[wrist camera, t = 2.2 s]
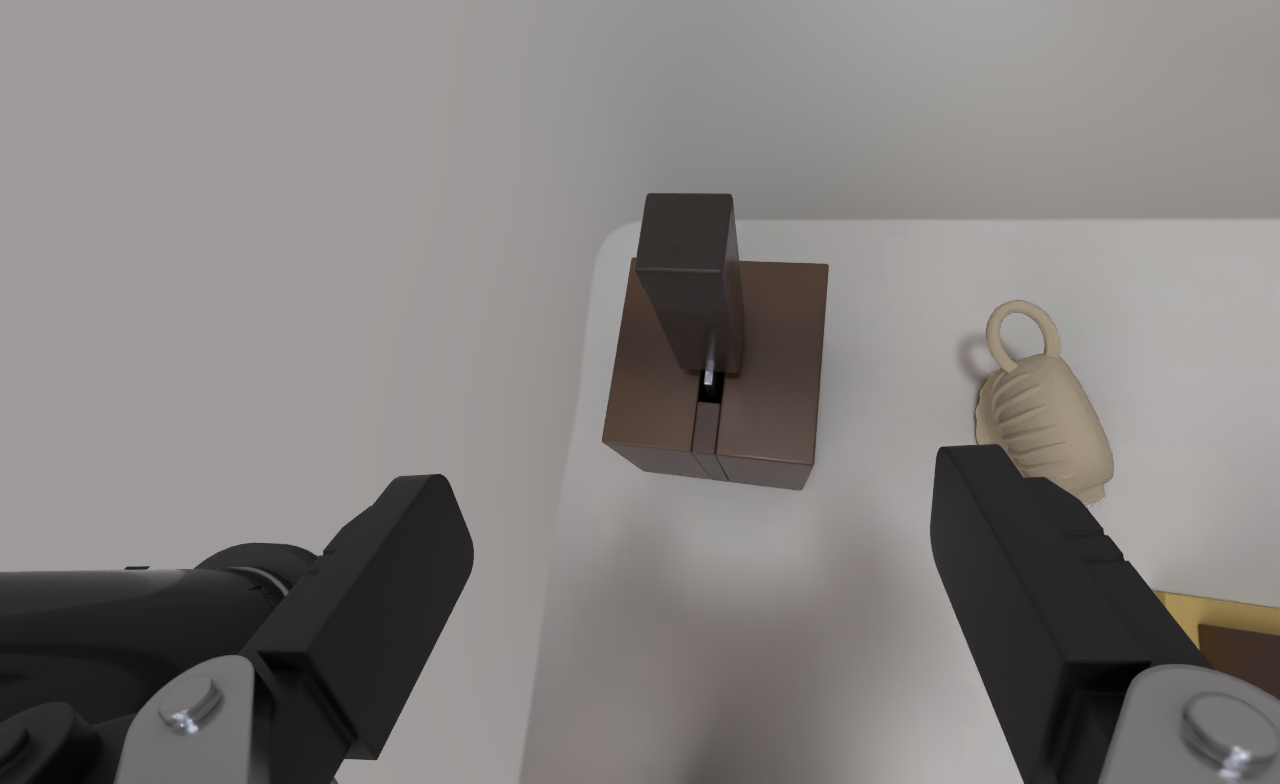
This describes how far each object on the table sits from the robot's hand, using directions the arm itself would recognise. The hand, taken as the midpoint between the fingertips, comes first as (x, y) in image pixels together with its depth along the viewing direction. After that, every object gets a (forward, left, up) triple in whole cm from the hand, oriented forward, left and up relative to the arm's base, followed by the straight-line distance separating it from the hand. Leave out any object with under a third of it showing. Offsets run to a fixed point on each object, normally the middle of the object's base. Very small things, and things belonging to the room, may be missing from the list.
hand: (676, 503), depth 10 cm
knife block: (+6, +3, -20) cm, 21 cm away
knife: (+6, +3, -20) cm, 21 cm away
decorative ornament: (+11, -9, -20) cm, 25 cm away
